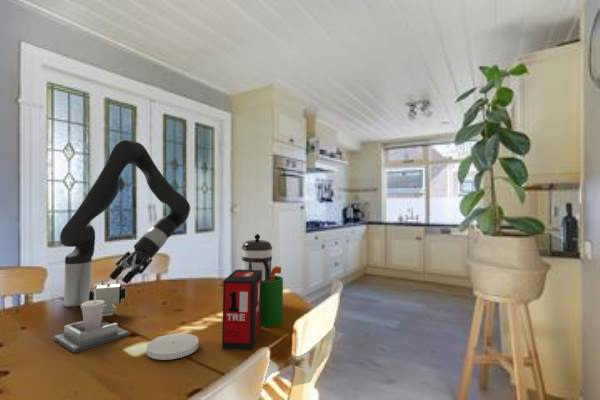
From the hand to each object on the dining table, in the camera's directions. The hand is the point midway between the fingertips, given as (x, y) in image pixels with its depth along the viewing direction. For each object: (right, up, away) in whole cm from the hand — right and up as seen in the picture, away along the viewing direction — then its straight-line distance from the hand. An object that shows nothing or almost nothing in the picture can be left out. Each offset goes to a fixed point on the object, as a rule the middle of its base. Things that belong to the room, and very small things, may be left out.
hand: (117, 280), depth 107 cm
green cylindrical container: (+50, -18, +9) cm, 54 cm away
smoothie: (-5, -15, -6) cm, 17 cm away
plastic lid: (+24, -17, -14) cm, 33 cm away
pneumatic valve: (-12, -17, +14) cm, 25 cm away
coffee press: (+43, -18, +26) cm, 54 cm away
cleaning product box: (+43, -17, -5) cm, 46 cm away
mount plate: (-5, -16, -6) cm, 18 cm away
